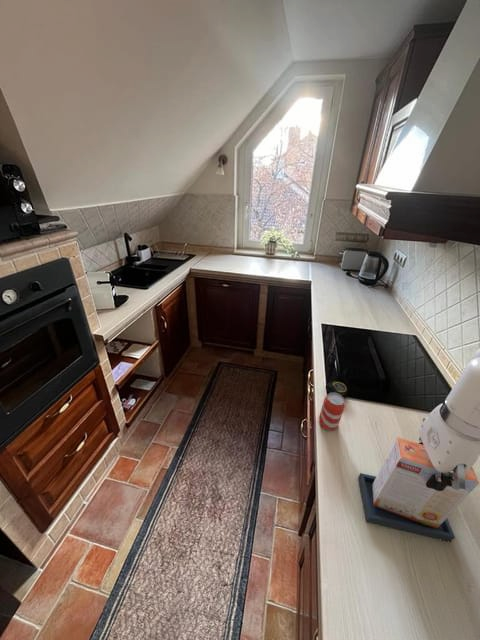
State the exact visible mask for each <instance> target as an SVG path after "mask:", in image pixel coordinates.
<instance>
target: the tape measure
mask: <svg viewBox="0 0 480 640" xmlns="http://www.w3.org/2000/svg"><path fill="white" fill-rule="evenodd" d="M325 390H326V391H327V392H328V394H329V393H337V394H340V395H341V396H342V397H343V398H344V399H345V397H346V396H348V387H347V386H346V384H345V383H343V382H342V381H338V380H333V381H331V382H329V383H327V384H326V385H325Z"/></svg>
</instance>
